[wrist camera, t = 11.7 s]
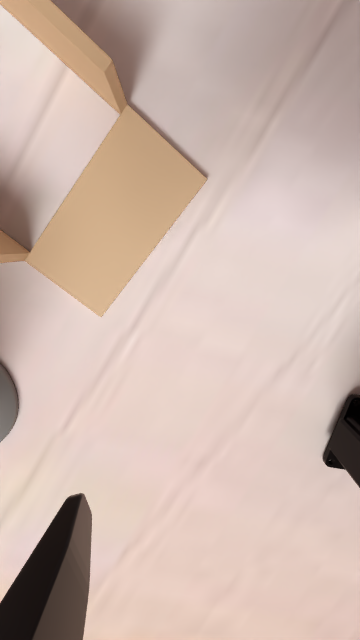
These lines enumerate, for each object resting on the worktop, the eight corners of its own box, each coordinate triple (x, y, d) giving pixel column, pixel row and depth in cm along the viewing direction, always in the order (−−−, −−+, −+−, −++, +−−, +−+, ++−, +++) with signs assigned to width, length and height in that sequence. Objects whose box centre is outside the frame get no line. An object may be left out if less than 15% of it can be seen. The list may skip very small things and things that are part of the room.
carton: (206, 180, 16) (216, 159, 13) (102, 316, 19) (82, 334, 15) (-41, -51, 13) (-129, -172, 10) (-131, 143, 16) (-232, 109, 12)
